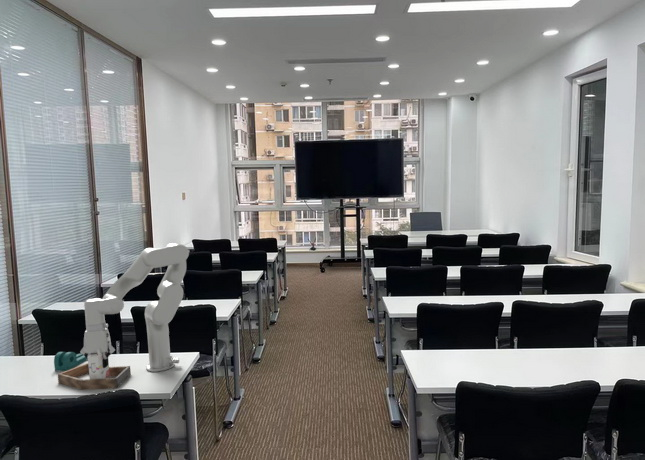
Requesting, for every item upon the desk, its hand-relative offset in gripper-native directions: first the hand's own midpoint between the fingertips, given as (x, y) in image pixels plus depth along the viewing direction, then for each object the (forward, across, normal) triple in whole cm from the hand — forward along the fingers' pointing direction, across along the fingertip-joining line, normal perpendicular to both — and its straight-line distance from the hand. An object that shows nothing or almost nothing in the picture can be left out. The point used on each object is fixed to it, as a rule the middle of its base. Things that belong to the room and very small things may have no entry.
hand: (98, 366), depth 201 cm
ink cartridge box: (+6, 0, 0) cm, 6 cm away
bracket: (+7, +24, -25) cm, 36 cm away
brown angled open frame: (+7, +4, -3) cm, 9 cm away
